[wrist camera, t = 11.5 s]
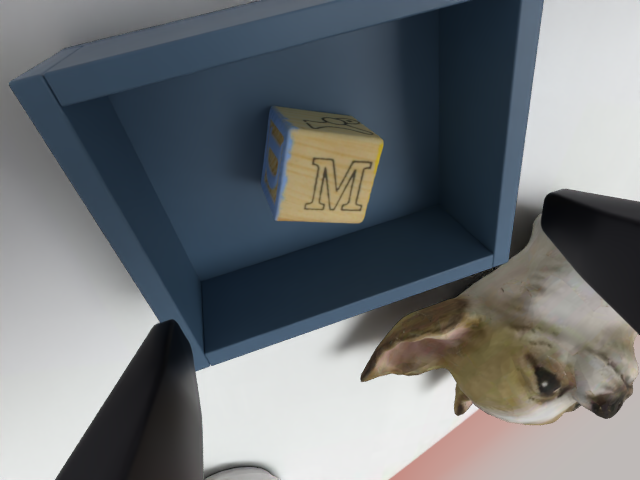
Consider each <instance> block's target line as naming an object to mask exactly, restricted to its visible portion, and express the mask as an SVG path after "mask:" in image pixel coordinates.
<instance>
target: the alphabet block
mask: <svg viewBox="0 0 640 480" xmlns="http://www.w3.org/2000/svg"><path fill="white" fill-rule="evenodd" d="M382 149H383V140H382V139H381V138H380V137H379V136H378V135H377V134H375V133H374V132H372V131H371V130H369V129H368V128H367V127H365V126H364V125H363V124H361V123H360V122H359V121H358V120H356V119H355V118H354V117H352V116H346V115H339V114H331V113H323V112H315V111H307V110H300V109H293V108H285V107H278V106H271V108H270V111H269V118H268V127H267V135H266V144H265V152H264V162H263V169H262V177H261V186H262V189H263V192H264V194H265V197H266V199H267V201H268V204H269V206H270V209H271V211H272V214H273V217H274V219H275V220H276V221H304V222H330V223H361V222H362V221H363V219H364V216H365V212H366V209H367V204H368V202H369V198H370V193H371V189H372V186H373V182H374V178H375V175H376V171H377V167H378V164H379V160H380V156H381V153H382Z"/></svg>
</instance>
